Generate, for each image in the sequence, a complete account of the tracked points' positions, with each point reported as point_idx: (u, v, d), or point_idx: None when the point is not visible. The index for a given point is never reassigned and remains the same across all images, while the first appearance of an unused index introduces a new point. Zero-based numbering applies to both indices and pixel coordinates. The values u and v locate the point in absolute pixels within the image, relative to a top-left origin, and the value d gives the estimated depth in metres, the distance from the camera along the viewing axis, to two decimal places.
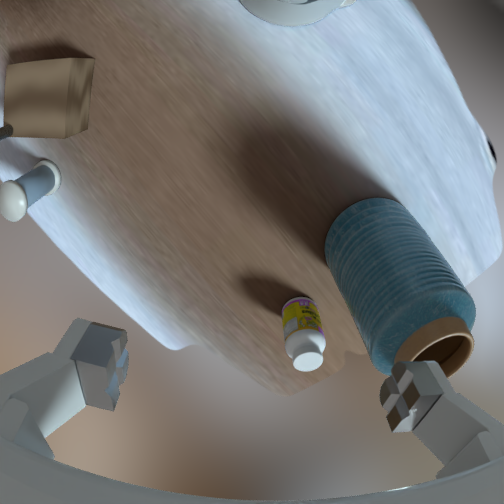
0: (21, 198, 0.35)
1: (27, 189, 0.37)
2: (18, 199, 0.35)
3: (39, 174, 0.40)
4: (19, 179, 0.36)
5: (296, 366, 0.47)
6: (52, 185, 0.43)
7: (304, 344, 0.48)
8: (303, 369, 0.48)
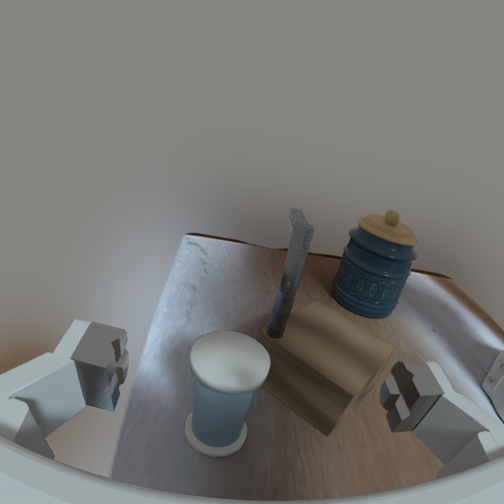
0: (263, 371, 0.22)
1: None
2: (255, 367, 0.22)
3: None
4: None
5: None
6: (228, 441, 0.25)
7: None
8: None
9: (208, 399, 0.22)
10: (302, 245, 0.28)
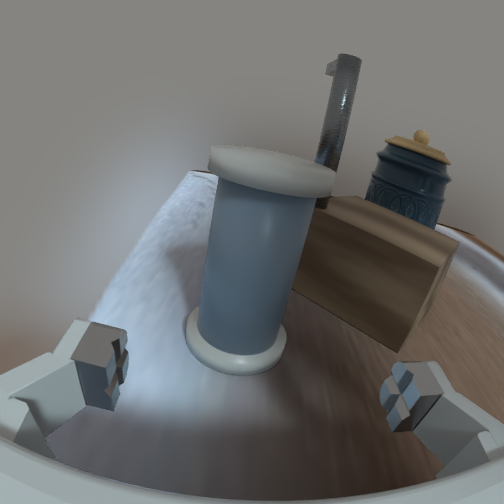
0: (328, 172, 0.14)
1: (311, 217, 0.15)
2: (315, 168, 0.14)
3: None
4: None
5: None
6: (260, 342, 0.17)
7: None
8: None
9: (236, 227, 0.14)
10: (351, 73, 0.20)
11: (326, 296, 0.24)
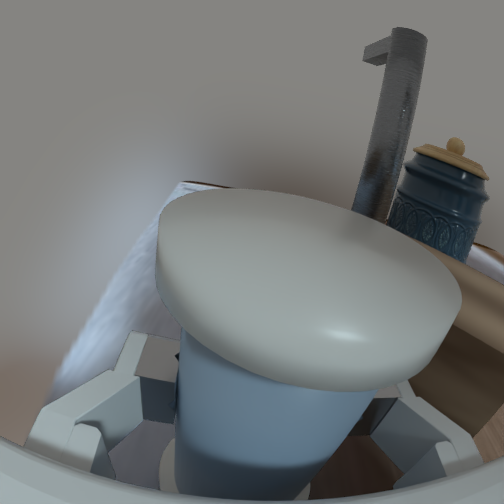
0: (447, 282, 0.05)
1: None
2: (418, 271, 0.05)
3: None
4: None
5: None
6: None
7: None
8: None
9: (230, 419, 0.05)
10: (415, 59, 0.11)
11: None
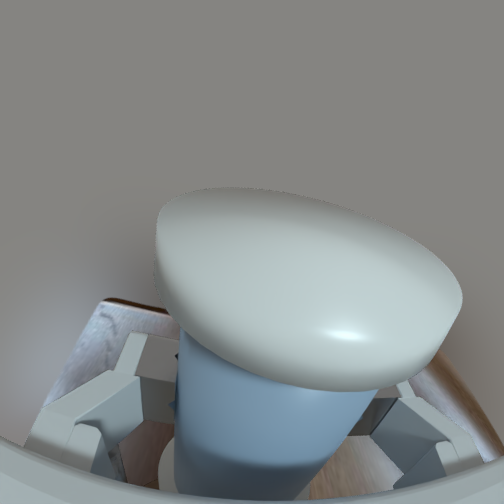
0: (447, 282, 0.05)
1: None
2: (419, 270, 0.05)
3: None
4: None
5: None
6: None
7: None
8: None
9: (229, 419, 0.05)
10: None
11: None
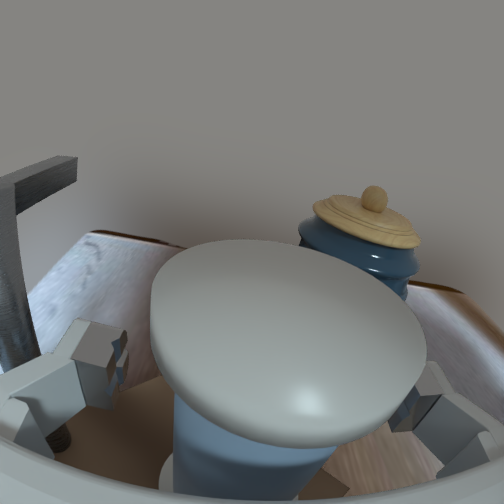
0: (415, 344, 0.06)
1: None
2: (388, 333, 0.06)
3: None
4: None
5: None
6: None
7: None
8: None
9: (218, 454, 0.06)
10: None
11: None
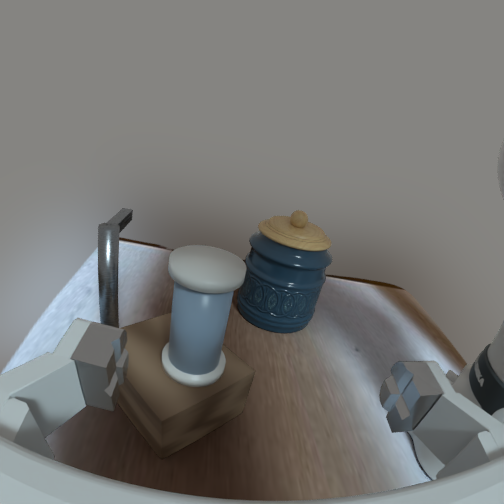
0: (238, 273, 0.24)
1: (232, 296, 0.25)
2: (231, 270, 0.24)
3: None
4: None
5: None
6: (205, 367, 0.26)
7: None
8: None
9: (184, 306, 0.24)
10: (105, 247, 0.24)
11: (122, 405, 0.28)
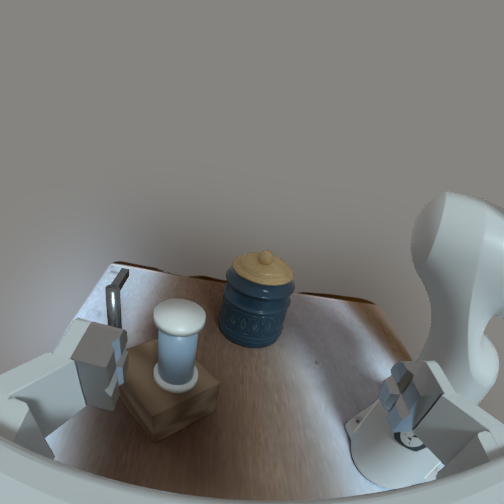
0: (199, 323, 0.35)
1: (197, 335, 0.36)
2: (194, 320, 0.35)
3: None
4: None
5: None
6: (182, 380, 0.38)
7: None
8: None
9: (165, 342, 0.35)
10: (111, 302, 0.35)
11: (127, 405, 0.40)
